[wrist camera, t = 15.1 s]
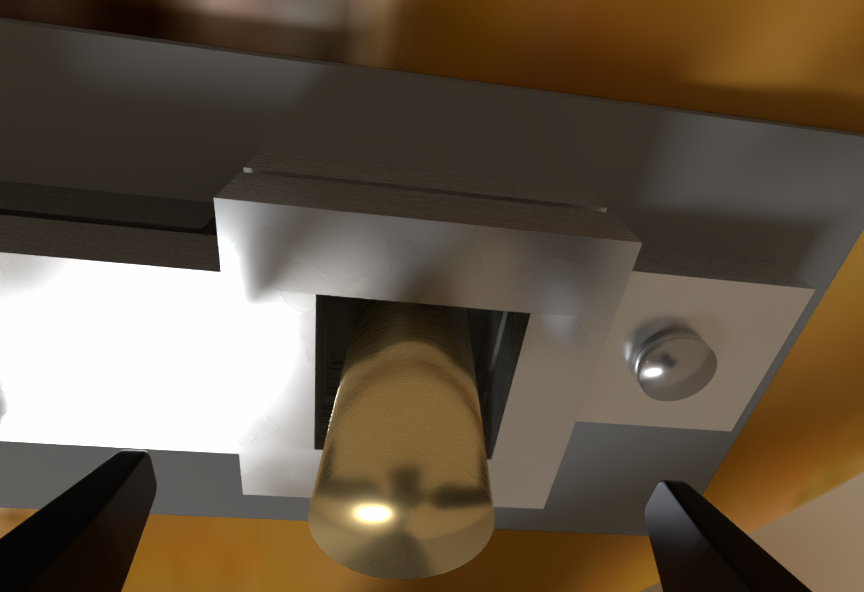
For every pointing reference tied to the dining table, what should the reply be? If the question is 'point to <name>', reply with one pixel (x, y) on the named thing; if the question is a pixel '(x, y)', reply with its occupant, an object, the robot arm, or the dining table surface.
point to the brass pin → (404, 447)
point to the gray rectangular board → (433, 148)
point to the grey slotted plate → (621, 356)
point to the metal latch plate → (297, 321)
